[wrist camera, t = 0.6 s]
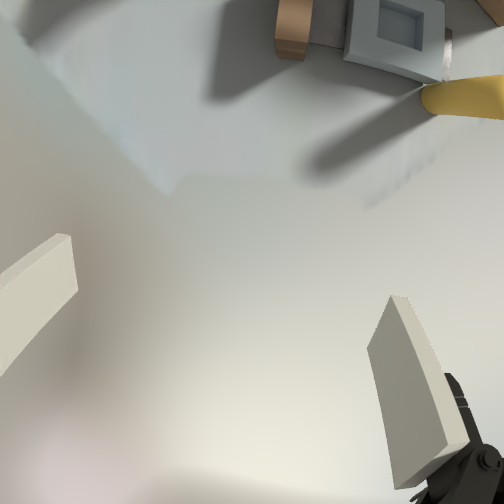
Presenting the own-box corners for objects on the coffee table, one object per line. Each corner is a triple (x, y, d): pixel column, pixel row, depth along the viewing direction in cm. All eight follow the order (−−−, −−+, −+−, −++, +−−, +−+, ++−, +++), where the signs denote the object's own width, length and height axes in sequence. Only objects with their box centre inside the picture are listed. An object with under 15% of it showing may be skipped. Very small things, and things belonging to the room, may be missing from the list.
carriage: (349, -15, 25) (356, -28, 21) (431, 11, 24) (444, 3, 20) (342, 59, 29) (349, 53, 26) (426, 84, 29) (441, 81, 25)
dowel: (422, 79, 29) (496, 66, 15) (448, 90, 29) (527, 86, 14) (418, 109, 31) (492, 111, 16) (444, 118, 30) (523, 128, 16)
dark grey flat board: (313, -12, 26) (313, -12, 26) (451, 30, 25) (451, 30, 25) (307, 42, 29) (307, 42, 29) (448, 82, 28) (448, 82, 28)
